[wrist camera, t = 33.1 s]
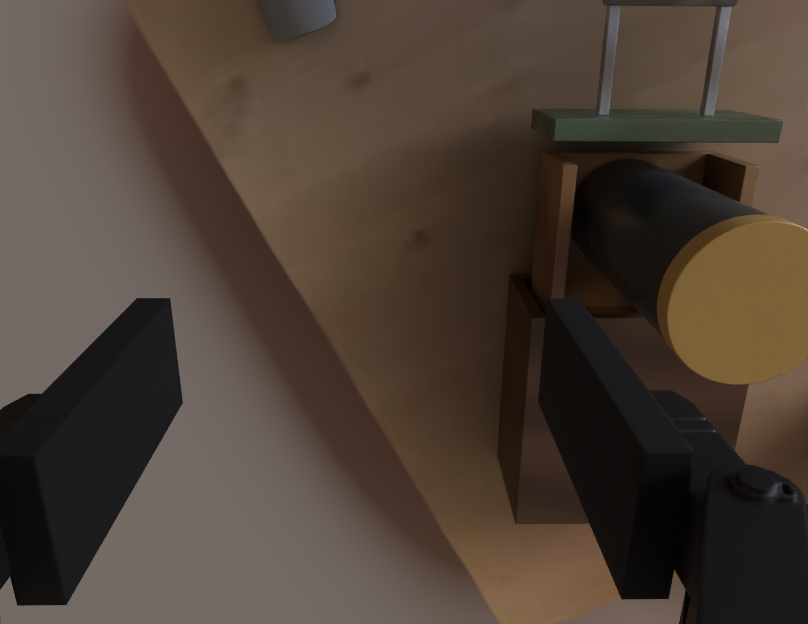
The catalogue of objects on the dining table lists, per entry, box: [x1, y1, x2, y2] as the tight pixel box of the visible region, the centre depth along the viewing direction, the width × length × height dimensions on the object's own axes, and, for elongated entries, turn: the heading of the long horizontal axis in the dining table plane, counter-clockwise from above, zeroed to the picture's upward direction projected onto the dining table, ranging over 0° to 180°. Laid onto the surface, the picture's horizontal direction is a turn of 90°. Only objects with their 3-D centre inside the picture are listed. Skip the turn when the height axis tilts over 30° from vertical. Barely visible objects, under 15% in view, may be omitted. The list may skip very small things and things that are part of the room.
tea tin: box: [571, 158, 808, 385], centre depth 36 cm, size 7×7×17 cm
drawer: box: [531, 0, 783, 313], centre depth 41 cm, size 21×12×6 cm, turn 0°
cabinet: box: [497, 275, 748, 524], centre depth 47 cm, size 15×14×8 cm
